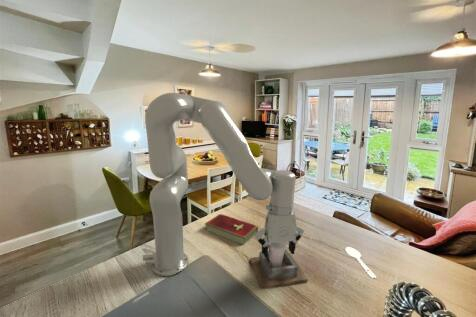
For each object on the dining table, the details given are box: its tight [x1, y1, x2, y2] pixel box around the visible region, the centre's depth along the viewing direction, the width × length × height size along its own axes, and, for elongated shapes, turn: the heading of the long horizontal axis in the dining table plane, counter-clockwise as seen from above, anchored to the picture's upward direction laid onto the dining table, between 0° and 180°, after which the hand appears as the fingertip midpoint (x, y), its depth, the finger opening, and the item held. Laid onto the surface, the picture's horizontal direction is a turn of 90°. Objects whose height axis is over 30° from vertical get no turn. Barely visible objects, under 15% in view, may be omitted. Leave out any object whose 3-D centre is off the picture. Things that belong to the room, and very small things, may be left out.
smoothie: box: [267, 242, 287, 268], centre depth 81 cm, size 6×6×14 cm
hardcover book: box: [204, 213, 259, 245], centre depth 107 cm, size 12×21×4 cm, turn 58°
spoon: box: [344, 246, 377, 279], centre depth 89 cm, size 5×18×1 cm, turn 3°
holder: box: [249, 248, 309, 289], centre depth 82 cm, size 16×14×4 cm
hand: (278, 253), depth 81 cm, fingers open, 9 cm apart
